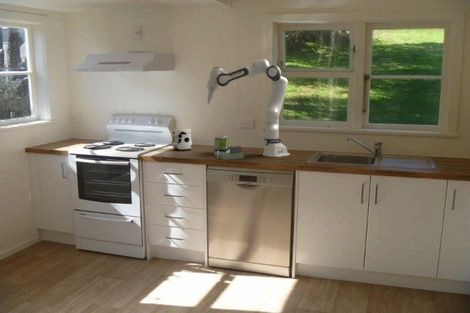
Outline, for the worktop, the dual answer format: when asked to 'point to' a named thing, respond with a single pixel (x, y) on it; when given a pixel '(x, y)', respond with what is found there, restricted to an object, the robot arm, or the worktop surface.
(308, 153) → the worktop surface
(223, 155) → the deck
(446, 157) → the worktop surface
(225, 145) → the tea box
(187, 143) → the milk container
